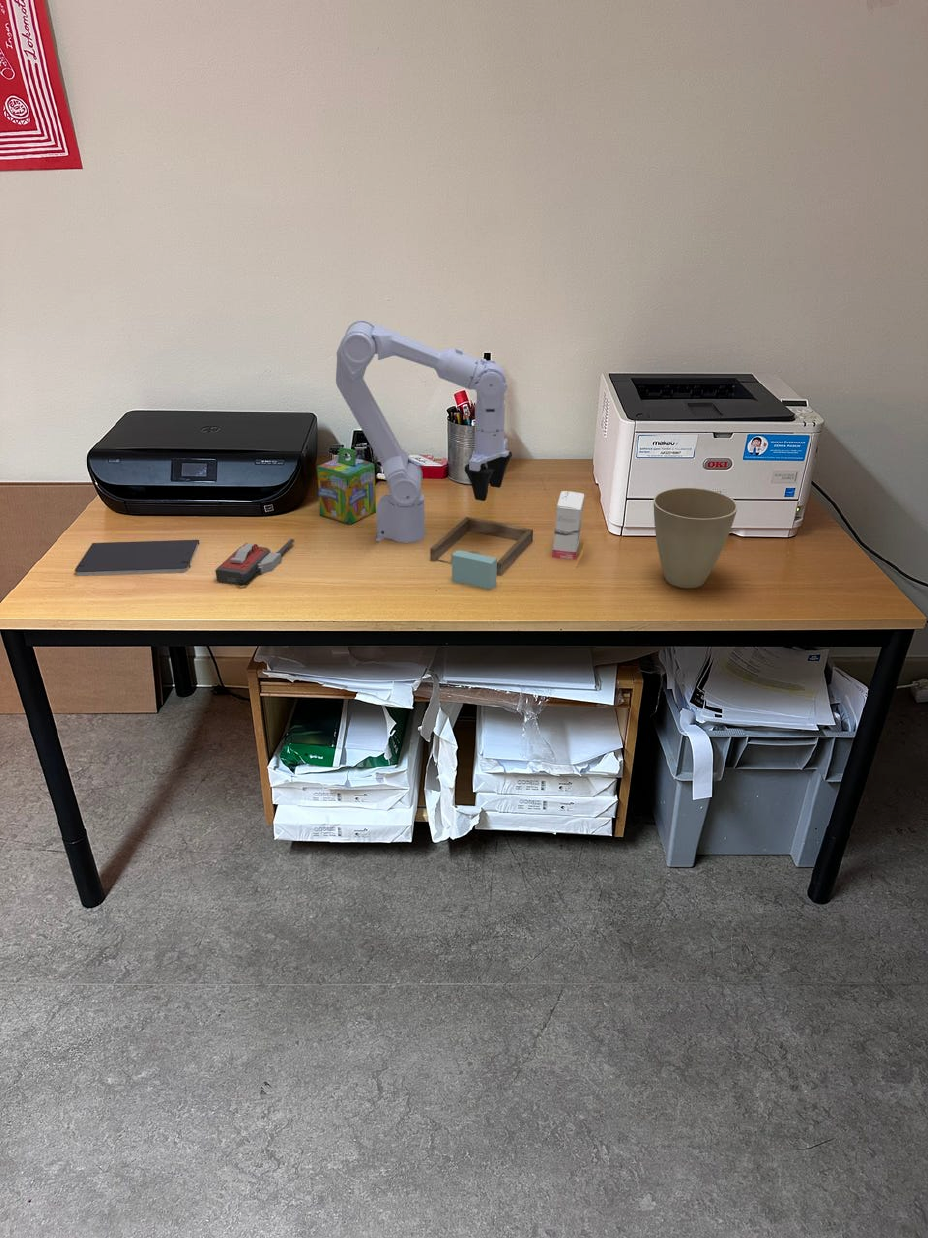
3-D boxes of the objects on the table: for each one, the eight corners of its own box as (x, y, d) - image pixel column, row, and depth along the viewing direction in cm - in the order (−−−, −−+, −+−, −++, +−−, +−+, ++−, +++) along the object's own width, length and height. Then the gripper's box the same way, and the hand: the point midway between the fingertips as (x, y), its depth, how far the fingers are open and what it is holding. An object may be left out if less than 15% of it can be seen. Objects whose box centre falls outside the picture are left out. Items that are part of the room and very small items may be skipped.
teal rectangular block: (452, 583, 162) (452, 555, 159) (457, 578, 164) (457, 549, 160) (491, 592, 159) (491, 563, 156) (496, 586, 161) (497, 558, 158)
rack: (430, 564, 169) (430, 548, 167) (466, 532, 182) (466, 516, 181) (500, 580, 164) (501, 563, 162) (532, 545, 177) (533, 529, 175)
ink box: (576, 564, 170) (581, 508, 164) (551, 561, 171) (554, 506, 165) (580, 545, 177) (584, 491, 171) (556, 543, 178) (559, 489, 172)
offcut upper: (453, 566, 166) (453, 559, 166) (451, 560, 169) (451, 552, 168) (486, 564, 167) (486, 556, 167) (483, 557, 170) (483, 550, 169)
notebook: (200, 546, 177) (93, 549, 176) (198, 539, 176) (92, 542, 175) (188, 574, 166) (75, 578, 165) (187, 567, 165) (73, 571, 164)
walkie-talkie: (254, 592, 160) (298, 546, 177) (251, 571, 158) (296, 527, 175) (211, 586, 162) (259, 541, 179) (208, 565, 160) (256, 522, 176)
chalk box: (319, 515, 189) (313, 451, 182) (346, 502, 196) (342, 439, 188) (350, 526, 185) (346, 460, 177) (378, 512, 191) (375, 448, 184)
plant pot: (702, 558, 172) (714, 483, 164) (737, 594, 160) (753, 515, 151) (632, 565, 169) (641, 490, 161) (662, 602, 157) (674, 522, 149)
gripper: (493, 441, 160) (492, 509, 167) (522, 419, 171) (519, 483, 178) (459, 436, 162) (459, 503, 169) (489, 415, 174) (488, 478, 181)
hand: (488, 493), depth 174 cm, fingers open, 7 cm apart
